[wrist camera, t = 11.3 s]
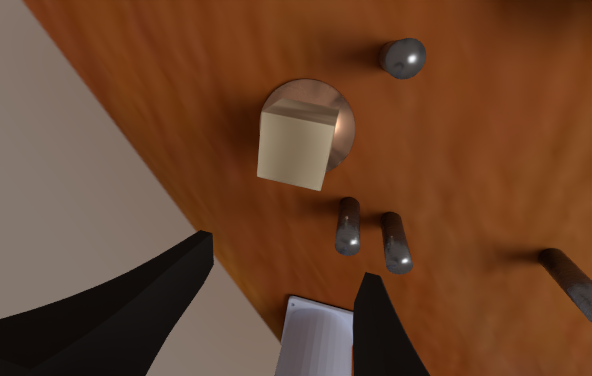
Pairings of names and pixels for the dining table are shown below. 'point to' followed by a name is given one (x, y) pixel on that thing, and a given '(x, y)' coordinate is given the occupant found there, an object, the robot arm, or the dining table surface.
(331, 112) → the block
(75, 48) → the dining table surface
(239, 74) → the dining table surface
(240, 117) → the dining table surface
